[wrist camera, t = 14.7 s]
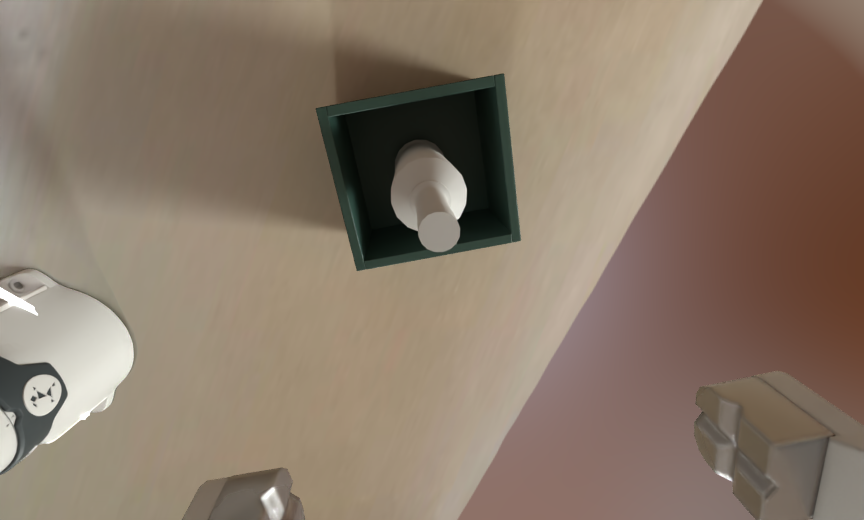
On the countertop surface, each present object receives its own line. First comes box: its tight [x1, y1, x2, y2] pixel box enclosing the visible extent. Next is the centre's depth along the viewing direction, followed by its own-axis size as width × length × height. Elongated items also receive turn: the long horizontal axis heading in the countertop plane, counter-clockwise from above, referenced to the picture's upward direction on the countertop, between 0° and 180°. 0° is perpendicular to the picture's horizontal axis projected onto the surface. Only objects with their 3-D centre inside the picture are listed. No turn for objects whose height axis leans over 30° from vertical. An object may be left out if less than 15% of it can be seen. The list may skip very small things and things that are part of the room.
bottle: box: [391, 140, 467, 252], centre depth 32 cm, size 5×5×25 cm
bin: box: [316, 74, 521, 271], centre depth 39 cm, size 15×14×11 cm
